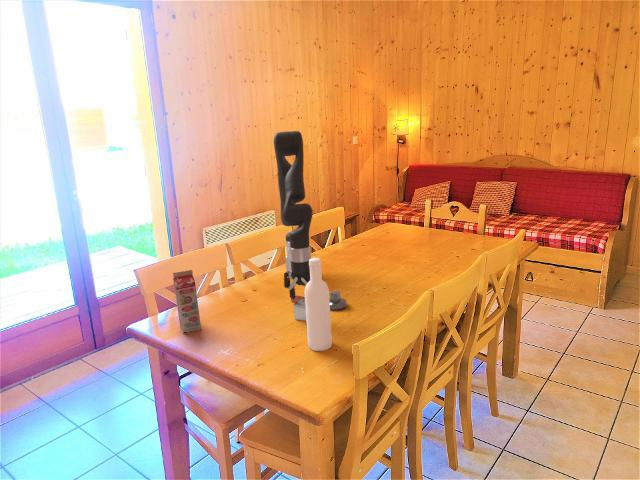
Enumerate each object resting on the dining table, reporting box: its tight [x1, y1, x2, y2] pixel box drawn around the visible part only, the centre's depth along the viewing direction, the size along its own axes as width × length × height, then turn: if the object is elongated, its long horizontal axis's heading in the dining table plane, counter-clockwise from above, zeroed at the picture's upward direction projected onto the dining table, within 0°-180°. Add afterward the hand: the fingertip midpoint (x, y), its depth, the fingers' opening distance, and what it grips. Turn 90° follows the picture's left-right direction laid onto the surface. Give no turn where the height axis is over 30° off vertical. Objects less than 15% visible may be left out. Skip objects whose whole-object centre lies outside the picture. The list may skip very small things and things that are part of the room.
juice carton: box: [172, 269, 202, 334], centre depth 177 cm, size 7×7×22 cm
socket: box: [293, 299, 307, 322], centre depth 182 cm, size 6×6×6 cm
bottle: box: [304, 257, 333, 352], centre depth 157 cm, size 8×8×30 cm
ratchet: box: [290, 290, 348, 312], centre depth 194 cm, size 23×8×6 cm, turn 64°
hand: (303, 300), depth 181 cm, fingers open, 8 cm apart
